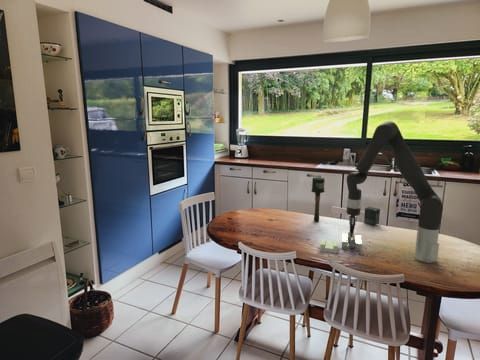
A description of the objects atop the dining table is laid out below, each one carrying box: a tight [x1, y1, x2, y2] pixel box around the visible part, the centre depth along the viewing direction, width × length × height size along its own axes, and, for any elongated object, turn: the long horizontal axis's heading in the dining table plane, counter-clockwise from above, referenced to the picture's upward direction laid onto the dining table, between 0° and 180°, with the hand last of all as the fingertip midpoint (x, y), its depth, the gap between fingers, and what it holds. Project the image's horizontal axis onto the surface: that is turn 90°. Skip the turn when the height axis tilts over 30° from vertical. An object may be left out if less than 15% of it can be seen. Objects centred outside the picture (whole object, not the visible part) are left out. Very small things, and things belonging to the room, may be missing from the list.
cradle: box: [319, 238, 340, 254], centre depth 175 cm, size 8×9×4 cm
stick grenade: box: [310, 176, 325, 223], centre depth 216 cm, size 8×9×30 cm
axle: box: [347, 231, 356, 251], centre depth 178 cm, size 18×3×3 cm, turn 164°
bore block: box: [341, 233, 363, 252], centre depth 179 cm, size 12×10×4 cm
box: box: [363, 206, 381, 226], centre depth 214 cm, size 8×6×11 cm
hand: (351, 234), depth 188 cm, fingers closed
